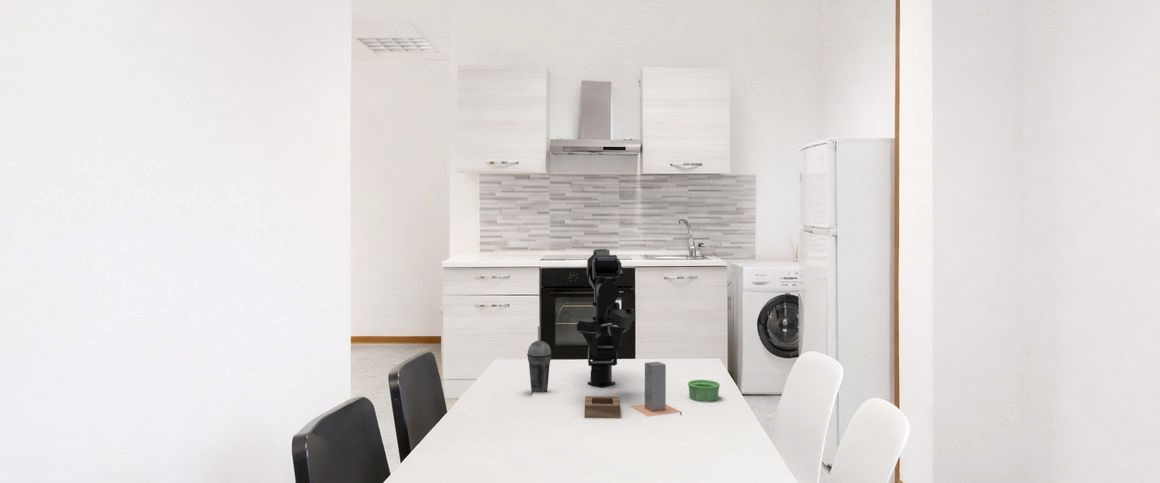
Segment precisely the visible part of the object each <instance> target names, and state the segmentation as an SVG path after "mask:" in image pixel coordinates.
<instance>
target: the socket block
mask: <svg viewBox="0 0 1160 483" xmlns="http://www.w3.org/2000/svg"><path fill="white" fill-rule="evenodd" d="M620 399H621V398H620V396H605V395H603V396H600V395H599V396H598V395H597V396H596V395H595V396H593V395H591V396H589V395H585V396H584V419H585V418H586V419H591V418H592V419H605V418H606V419H621V400H620Z"/></svg>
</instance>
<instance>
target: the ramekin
mask: <svg viewBox="0 0 1160 483" xmlns="http://www.w3.org/2000/svg"><path fill="white" fill-rule="evenodd" d="M687 385H688V393H689V398H690V399H691V400H693V401H696V402H703V401H710V402H715V401H717V400H718V399H719V391H720V385H721V384H720V383H719V382H717V381H714V380H711V379H693V380H690V381H688V382H687ZM714 400H715V401H714Z"/></svg>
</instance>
